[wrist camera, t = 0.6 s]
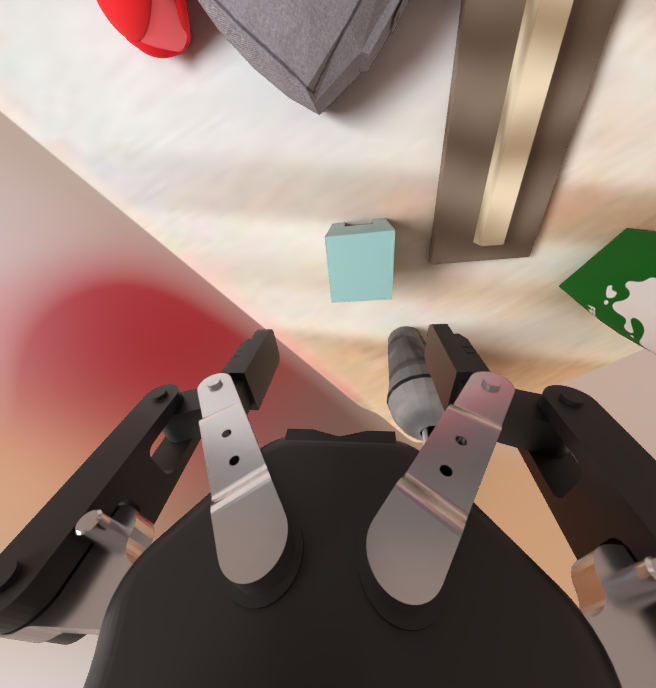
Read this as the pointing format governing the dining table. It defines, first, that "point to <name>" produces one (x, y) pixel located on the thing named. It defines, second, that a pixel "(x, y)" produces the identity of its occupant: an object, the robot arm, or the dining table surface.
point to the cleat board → (482, 121)
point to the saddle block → (360, 261)
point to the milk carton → (621, 286)
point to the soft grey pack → (307, 41)
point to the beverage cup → (411, 385)
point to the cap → (151, 24)
